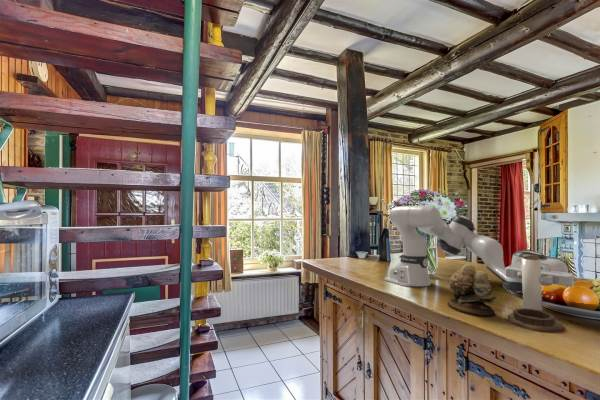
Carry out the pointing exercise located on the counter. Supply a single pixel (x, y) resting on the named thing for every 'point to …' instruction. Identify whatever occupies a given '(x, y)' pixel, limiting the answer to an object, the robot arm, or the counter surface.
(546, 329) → the groove tray
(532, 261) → the off-white tall cylinder
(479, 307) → the owl figurine
